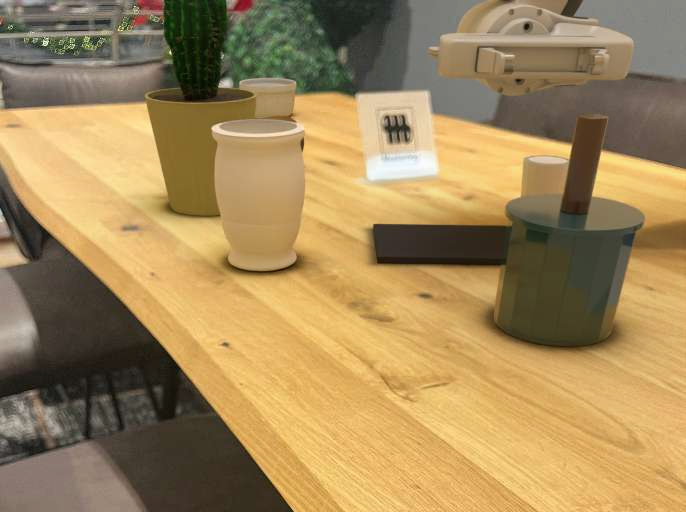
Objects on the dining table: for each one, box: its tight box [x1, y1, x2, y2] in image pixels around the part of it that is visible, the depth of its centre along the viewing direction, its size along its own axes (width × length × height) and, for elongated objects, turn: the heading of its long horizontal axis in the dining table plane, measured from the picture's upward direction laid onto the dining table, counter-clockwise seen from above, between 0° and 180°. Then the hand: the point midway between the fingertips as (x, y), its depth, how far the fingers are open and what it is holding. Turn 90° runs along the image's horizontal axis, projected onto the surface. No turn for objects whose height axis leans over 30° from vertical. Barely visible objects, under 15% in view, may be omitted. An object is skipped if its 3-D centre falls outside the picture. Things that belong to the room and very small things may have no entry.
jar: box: [212, 119, 306, 272], centre depth 89 cm, size 11×10×15 cm
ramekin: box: [238, 77, 297, 118], centre depth 176 cm, size 13×13×7 cm
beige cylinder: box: [520, 154, 569, 197], centre depth 111 cm, size 7×7×7 cm
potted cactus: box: [144, 0, 257, 217], centre depth 105 cm, size 15×15×30 cm
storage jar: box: [493, 218, 637, 348], centre depth 75 cm, size 12×12×10 cm
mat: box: [372, 223, 507, 266], centre depth 98 cm, size 18×14×1 cm
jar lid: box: [504, 113, 646, 237], centre depth 69 cm, size 13×13×9 cm
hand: (554, 65), depth 75 cm, fingers open, 8 cm apart
